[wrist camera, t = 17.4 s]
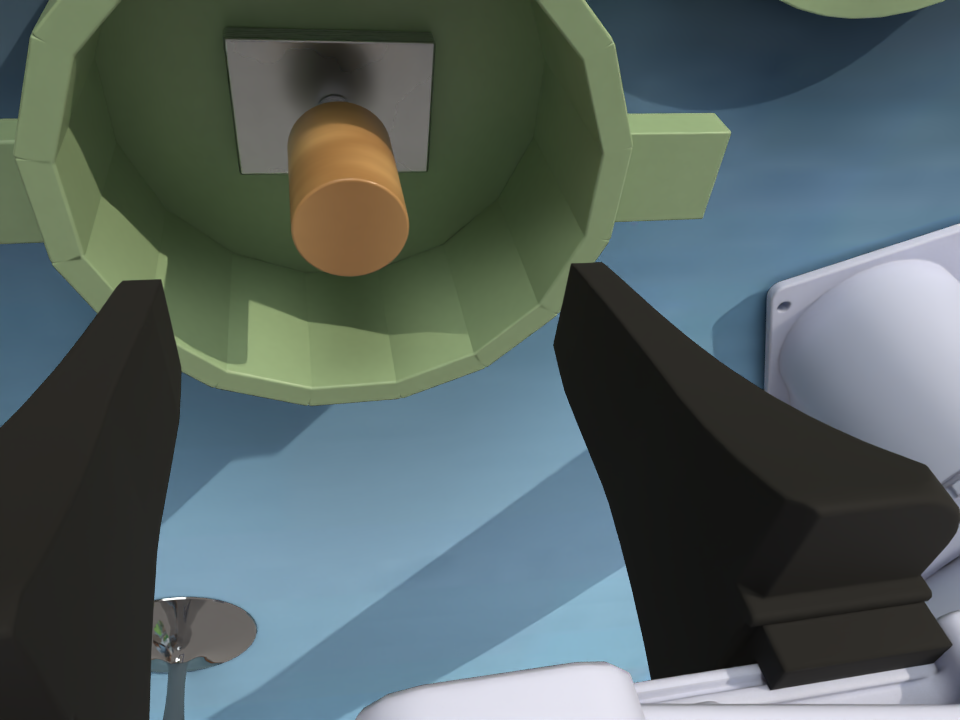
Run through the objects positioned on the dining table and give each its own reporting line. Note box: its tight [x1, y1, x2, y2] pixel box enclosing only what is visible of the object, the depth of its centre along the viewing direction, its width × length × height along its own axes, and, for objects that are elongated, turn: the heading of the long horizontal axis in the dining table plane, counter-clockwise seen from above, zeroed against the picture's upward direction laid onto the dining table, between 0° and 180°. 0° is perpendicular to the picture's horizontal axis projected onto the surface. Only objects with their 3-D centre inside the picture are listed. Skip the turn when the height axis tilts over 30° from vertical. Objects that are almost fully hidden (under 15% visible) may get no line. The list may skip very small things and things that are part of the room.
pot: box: [0, 0, 731, 406], centre depth 19 cm, size 12×18×6 cm
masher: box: [223, 27, 436, 277], centre depth 18 cm, size 5×4×6 cm
